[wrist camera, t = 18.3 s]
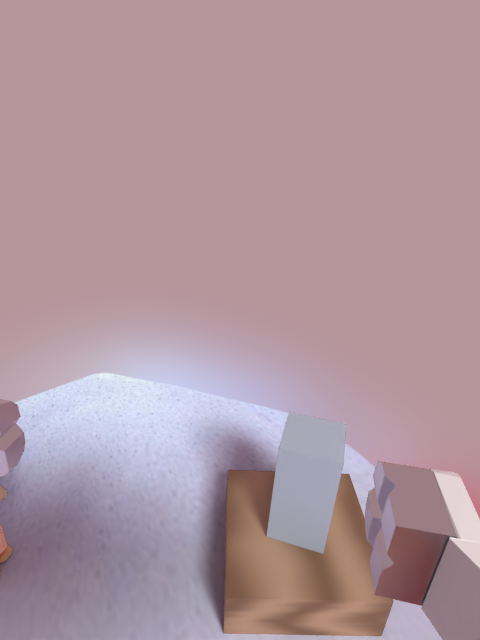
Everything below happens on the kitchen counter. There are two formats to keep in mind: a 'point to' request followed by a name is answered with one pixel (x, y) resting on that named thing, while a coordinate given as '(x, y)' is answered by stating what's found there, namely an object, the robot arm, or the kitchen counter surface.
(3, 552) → the grandmother figurine
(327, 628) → the walnut block
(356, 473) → the kitchen counter surface
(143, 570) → the kitchen counter surface
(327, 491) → the slate pillar block
